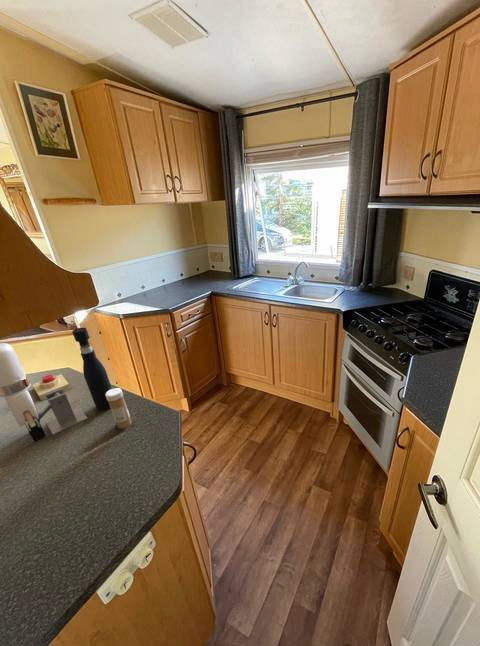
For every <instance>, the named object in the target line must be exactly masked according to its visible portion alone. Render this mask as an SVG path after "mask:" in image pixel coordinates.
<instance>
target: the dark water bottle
mask: <svg viewBox="0 0 480 646" xmlns="http://www.w3.org/2000/svg"><path fill="white" fill-rule="evenodd" d="M71 333H72V335H73V338H74V340H75V342H76V343H78V345H79V346H80V347H79V351H80V356H81V359H82V361H83V363H82V364H83V365H82V371H83V377H84V380H85V382H86V383H85V384H86V385H87V388H88V390H89V394H90V395H91V398H92V400H93V401H92V402H93V403H94V405H95V408H96V410H97V412H106V411H109V410H111V409H110V405H109V402H108V400H107V399H106V396H105V394H106V392H107V391H109V390H111V389H113V388H112V384H111V381H110V378H109V376H108V373H107V370H106V368H105V365H103V363H102V362H101V360H100V359H98V357H97V355H96V352H95V350H94V349H93V347H92V345H91V344H90V342H89V339H90V335H89V332H88V329H87V328H86V327H78V328H75V329H73V330H72V332H71Z"/></svg>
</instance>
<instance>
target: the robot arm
mask: <svg viewBox="0 0 480 646" xmlns="http://www.w3.org/2000/svg"><path fill="white" fill-rule="evenodd" d="M31 386H32V384H31V382H30V380H29V378H28V376H27V374H26V372H25V370H24V368H23V366H22V363H21V361H20V360H19V357H18V355H17V353H16V351H15V349H14V348H13V346H12V345H11V344H10V343H6V342H0V398H4V400H5V402H6V405H7V406H8V408H9V410H10V412H11V413H12V415H13V418H14V419H15V421H16V423H17V425H18V426H19V427H23V426H25V427H26V429H27V431H28V434H29V435H30V438H31V439H32V441H33V442H37V441H39V440H41V439H43V438H46V437H47V434H46V432H45V430H44V429H43V426H42V424H41V423H40V424H39V423H38V421H37V419H38V418H39V416H38V415H39V413H38V411H37V408H36V405H35V403H34V400H33V399H32V396H31V394H30V392H29V390H28V389H30V387H31ZM33 418H34V419H33ZM34 421H35V422H36V423H35V422H34ZM29 424H30V426H29Z"/></svg>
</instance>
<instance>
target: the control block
mask: <svg viewBox="0 0 480 646" xmlns="http://www.w3.org/2000/svg"><path fill="white" fill-rule="evenodd" d="M53 377H54V380H53V381H52V382H49V383H43V380H42V379H40V381H38V382H35V383H32V384H31V386H32V387H33V389H34V391H35V392H36V394H37V396H38V397H39V399H40V401H43V400H45V399H47V398H46V396H45V394H47V393H50V392H52V391H55V390H58V389H60V388H61V389H62V391H63V392H65V391H68V390H70V389H71V385H70V383H69V382H68V381H67V380H66V378H65V377H64V376H63V375H62V374H61V373H59V374H57V375H53Z"/></svg>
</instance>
